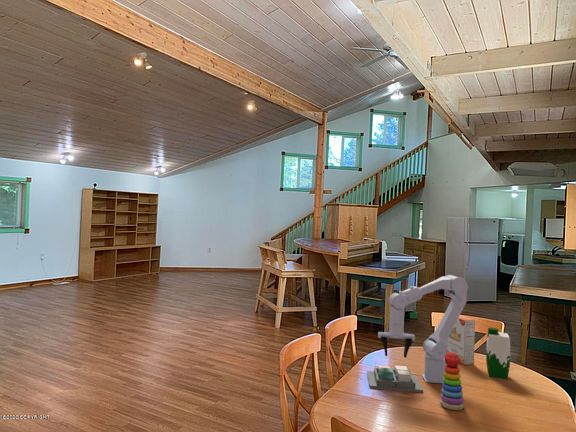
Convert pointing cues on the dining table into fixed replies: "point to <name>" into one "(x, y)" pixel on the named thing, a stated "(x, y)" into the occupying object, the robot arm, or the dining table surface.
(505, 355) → the milk carton
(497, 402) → the dining table surface
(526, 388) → the dining table surface
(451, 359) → the stacking toy
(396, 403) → the dining table surface
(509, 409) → the dining table surface
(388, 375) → the teal block
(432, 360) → the robot arm
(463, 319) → the cracker box
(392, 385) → the puzzle board
